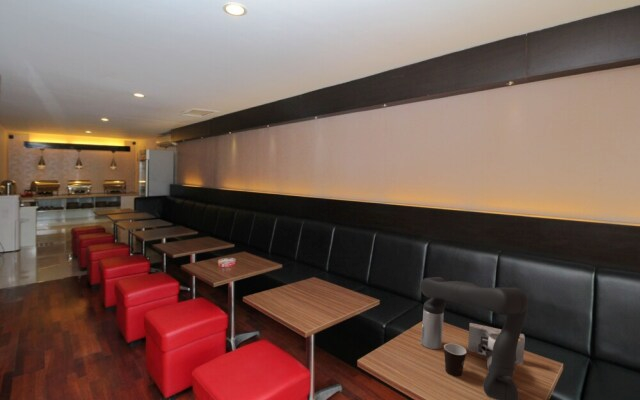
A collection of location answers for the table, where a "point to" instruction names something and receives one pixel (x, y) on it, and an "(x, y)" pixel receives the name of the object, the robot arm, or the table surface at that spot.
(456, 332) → the table surface
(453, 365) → the coffee mug
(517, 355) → the psu panel
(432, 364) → the table surface
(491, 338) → the can
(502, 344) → the robot arm
